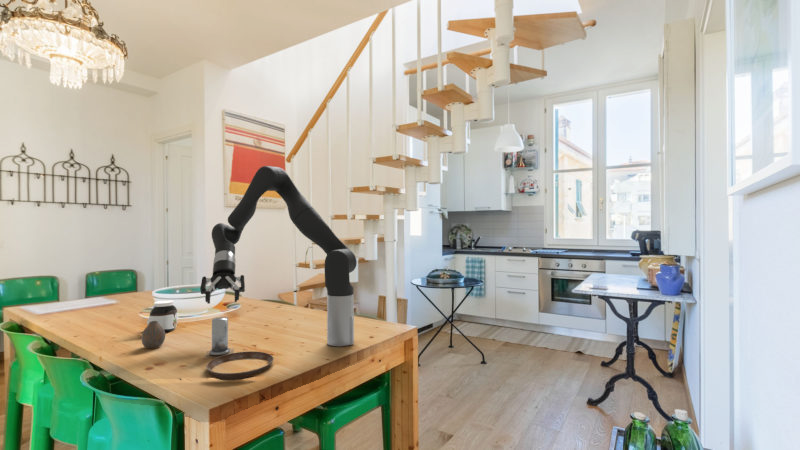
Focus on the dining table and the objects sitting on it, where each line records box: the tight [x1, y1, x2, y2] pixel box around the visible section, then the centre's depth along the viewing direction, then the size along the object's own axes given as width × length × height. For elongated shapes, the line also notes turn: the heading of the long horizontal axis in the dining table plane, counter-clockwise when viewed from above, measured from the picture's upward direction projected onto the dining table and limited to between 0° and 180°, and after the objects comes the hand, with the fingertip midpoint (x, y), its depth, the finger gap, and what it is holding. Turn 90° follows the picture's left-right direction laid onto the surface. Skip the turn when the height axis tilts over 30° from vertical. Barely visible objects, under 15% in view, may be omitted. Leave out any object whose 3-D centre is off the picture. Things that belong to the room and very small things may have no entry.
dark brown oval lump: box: [140, 321, 166, 350], centre depth 132 cm, size 7×7×9 cm
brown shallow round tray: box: [206, 350, 274, 381], centre depth 109 cm, size 18×18×3 cm
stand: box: [204, 348, 235, 360], centre depth 122 cm, size 8×8×1 cm
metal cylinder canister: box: [209, 316, 231, 356], centre depth 122 cm, size 6×6×11 cm
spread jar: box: [146, 300, 178, 334], centre depth 154 cm, size 12×11×12 cm
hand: (222, 301), depth 132 cm, fingers open, 8 cm apart
